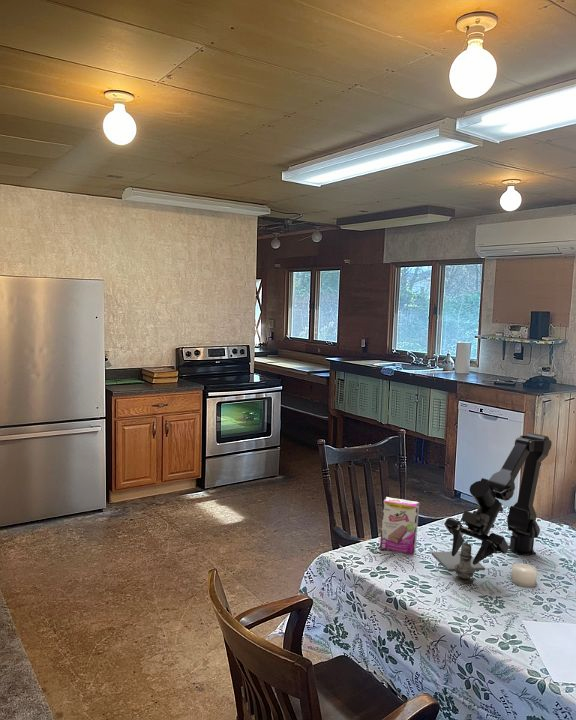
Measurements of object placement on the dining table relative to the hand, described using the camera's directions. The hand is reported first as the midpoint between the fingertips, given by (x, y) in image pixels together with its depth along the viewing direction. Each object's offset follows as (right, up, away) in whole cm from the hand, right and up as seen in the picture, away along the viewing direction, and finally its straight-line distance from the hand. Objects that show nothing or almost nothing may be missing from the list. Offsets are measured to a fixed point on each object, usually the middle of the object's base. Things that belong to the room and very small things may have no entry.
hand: (462, 559), depth 170 cm
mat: (+3, -5, +14) cm, 15 cm away
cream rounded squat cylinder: (+19, -7, +3) cm, 20 cm away
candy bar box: (-15, -4, +21) cm, 26 cm away
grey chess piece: (+1, -7, +2) cm, 7 cm away
